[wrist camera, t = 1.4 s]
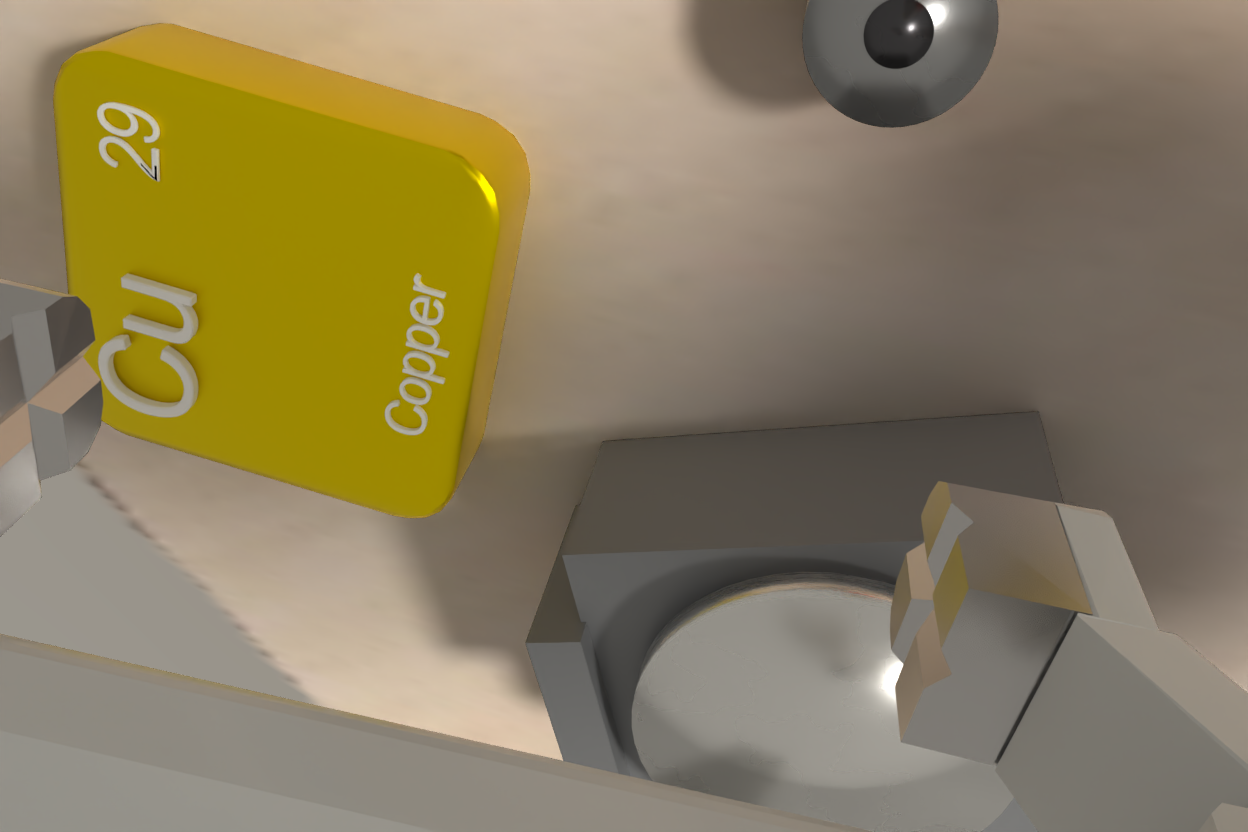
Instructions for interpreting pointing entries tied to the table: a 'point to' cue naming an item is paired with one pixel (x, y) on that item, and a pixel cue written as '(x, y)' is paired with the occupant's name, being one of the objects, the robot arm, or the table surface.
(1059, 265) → the table surface
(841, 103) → the spacer
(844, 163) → the table surface
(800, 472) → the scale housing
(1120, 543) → the robot arm
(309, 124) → the element tile
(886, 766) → the scale pan
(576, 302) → the table surface
